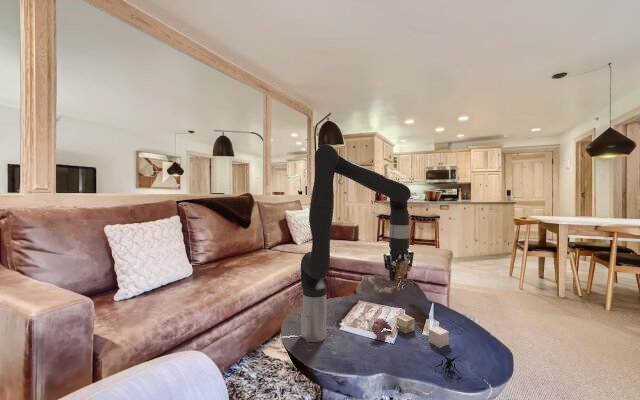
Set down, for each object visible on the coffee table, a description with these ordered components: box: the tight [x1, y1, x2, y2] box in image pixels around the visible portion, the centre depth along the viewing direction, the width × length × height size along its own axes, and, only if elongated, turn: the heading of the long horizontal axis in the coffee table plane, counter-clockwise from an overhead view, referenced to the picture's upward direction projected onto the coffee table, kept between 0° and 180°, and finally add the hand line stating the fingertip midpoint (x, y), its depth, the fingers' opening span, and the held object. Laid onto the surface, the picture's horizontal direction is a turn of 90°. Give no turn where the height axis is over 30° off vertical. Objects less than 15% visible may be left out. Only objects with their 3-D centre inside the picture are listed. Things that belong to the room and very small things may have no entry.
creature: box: [434, 350, 463, 380], centre depth 92 cm, size 8×5×8 cm
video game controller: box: [371, 317, 393, 342], centre depth 116 cm, size 10×5×7 cm, turn 150°
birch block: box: [396, 314, 415, 334], centre depth 120 cm, size 5×5×5 cm
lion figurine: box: [392, 261, 412, 285], centre depth 114 cm, size 15×5×9 cm, turn 10°
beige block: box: [428, 325, 450, 349], centre depth 110 cm, size 5×5×5 cm
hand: (398, 279), depth 112 cm, fingers closed on lion figurine, 5 cm apart
